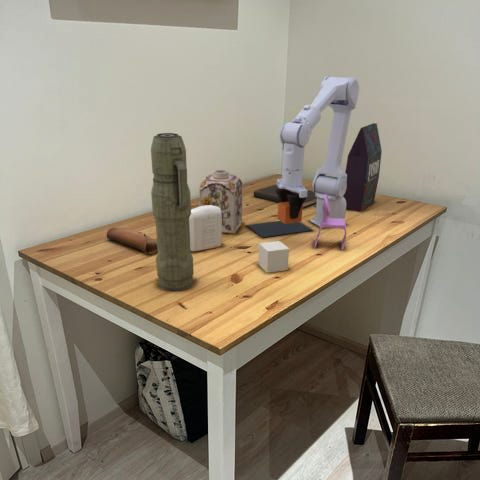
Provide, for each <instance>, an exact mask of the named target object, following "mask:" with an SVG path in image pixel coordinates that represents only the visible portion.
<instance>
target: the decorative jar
mask: <svg viewBox="0 0 480 480" xmlns="http://www.w3.org/2000/svg"><path fill="white" fill-rule="evenodd" d="M198 196H199V199H198V202H199V203H198V204H199V207H200V206H205V205H213V206H217V207H219V208H220V209H221V213H222V234H228V235H229V234H230V235H236V233H237V232H238V230H239V228H240V227H241V225H242V223H243V182H242V180H241V178H240V177H238V176H237V175H235V174H232V173H231V174H230V172H229V170H227V169H214V170H213V174H208V175H205V176H203V178H202V180H201V183H200V186H199V188H198Z"/></svg>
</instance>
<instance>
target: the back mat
mask: <svg viewBox="0 0 480 480" xmlns="http://www.w3.org/2000/svg"><path fill="white" fill-rule="evenodd" d="M246 227H247V228H248V229H249V230H250V231H252V232H253V233H255V234H256V235H257V236H258V237H260V238H262V239H265V238H267V239H268V238H274V237H279V236H287V235H294V234H300V233H301V234H302V233H308V232H313V229H312V228H311V227H309V226H307V225H305V224H304V223H302V222H295V223H288V224H284V223H283V222H281V221H280V220H277V221H267V222H260V223H253V224H246Z"/></svg>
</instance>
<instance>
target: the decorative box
mask: <svg viewBox="0 0 480 480" xmlns="http://www.w3.org/2000/svg"><path fill="white" fill-rule="evenodd" d="M382 152H383V151H382V145H381V140H380V133H379V128H378V123H375V122H373V123H370V124H368V125H365V126H362V127H360V129H359V130H358V132H357V135H356V137H355V139H354V141H353V144H352V146H351V148H350V150H349V152H348V154H347V159H346V164H345V165H346V166H345V170H344V172H345V173H346V174H347V182H346V183H347V188H346V192H345V194H344V195H343V197H344V198H345V200H346V210H350V211H355V212H362V211H363V210H365V209H366V208H368V207H369V206H370V205H372V204H373V203H374V202H375V198H376V194H377V189H378V184H379V179H380V170H381V161H382Z"/></svg>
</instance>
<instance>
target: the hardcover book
mask: <svg viewBox="0 0 480 480" xmlns="http://www.w3.org/2000/svg"><path fill="white" fill-rule="evenodd" d="M276 189H280V188H278V186H277V183H276V184H273V185H269V186H266V187H263V188H259V189H256V190H254V191H253V197H255V198H259V199H261V200H262V199H263V200H267V201H271V202H275V203H280V200H279V197H278V195H277V193H276ZM307 190H308V192H307V198H306V200H305V201H304V203H303V209H305V208H308V207H310V206H313V205H315V204H316V203H317V197H316V196H315V193H314V192H313V190H309V189H307Z"/></svg>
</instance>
